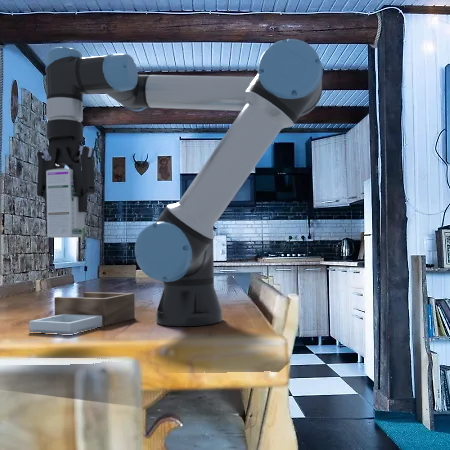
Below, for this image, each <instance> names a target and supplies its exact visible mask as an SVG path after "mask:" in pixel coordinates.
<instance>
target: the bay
mask: <svg viewBox="0 0 450 450" xmlns="http://www.w3.org/2000/svg"><path fill="white" fill-rule="evenodd" d="M53 299H54V316H56V315H61V314H75V315H97V316H102V325H108V326H110V325H109V324H112V325H115V324H118V322H119V323H122V322H126V321H129V320H134V319H135V318H136V316H135V315H136V314H135V310H136V309H135V293H134V292H133V293H131V292H127V293H126V292H125V293H124V292H89V291H88V292H85V291H84V292H83V297H78V296H77V297H75V296H72V297H71V296H68V297H67V296H55V297H54V298H53ZM114 323H115V324H114Z"/></svg>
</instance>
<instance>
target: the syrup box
mask: <svg viewBox="0 0 450 450" xmlns="http://www.w3.org/2000/svg"><path fill="white" fill-rule="evenodd" d="M46 186H47V214H46V227H47V228H46V231H47V234H46V235H47V238H54V239H55V238H59V239H60V238H84V237H85V228H74V218H73V197H78V196H75V195H74V194H76V191H75V187H74V184H73V170H72V169H69V168H64V169H52V170H47V171H46Z"/></svg>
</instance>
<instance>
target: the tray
mask: <svg viewBox="0 0 450 450" xmlns="http://www.w3.org/2000/svg"><path fill="white" fill-rule="evenodd" d="M28 324H29V328H28V329H29V332H41V333H57V334H74V333H77V332H81V331H85V330H89V329H94V328H97V327H101V326H102V316H97V315H75V314H61V315H56V316H55V315H53V316H47V317H43V318H38V319H34V320H29V322H28ZM102 327H103V326H102ZM102 327H101V328H102ZM97 329H98V328H97ZM94 330H95V329H94Z"/></svg>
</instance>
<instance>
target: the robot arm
mask: <svg viewBox="0 0 450 450" xmlns="http://www.w3.org/2000/svg"><path fill="white" fill-rule="evenodd" d="M323 73H324V70H323V64H322V61H321V59H320V57H319V55H318V52H317V51H316V49H315V48H314V47H312V45H310V44H309V43H307V42H306V41H303V40H301V39H297V38H287V39H281V40H278V41H276V42H274V43H273V44H271V45H270V46H268V47H267V48H266V50H264V52H263V53H262V55H261V57H260V59H259V63H258V66H257V74H256V76H233V75H232V76H228V75H227V76H226V75H225V76H224V75H223V76H222V75H221V76H220V75H219V76H218V75H176V74H175V75H174V74H170V75H169V74H168V75H167V74H164V75H163V74H138V68H137V64H136V62H135V60H134V58H133V57H132V56H131V55H130V54H128V53H110V54H104V55H103V54H102V55H94V56H88V57H87V56H86V57H83V55H82V53H81V52H80V51H79V50H78V49H77V48H76V49H75V48H73V47H69V46H66V47H64V46H55V47H52V48H51V49H49V50H48V51H47V53H46V63H45V78H46V79H45V81H46V82H45V84H46V103H45V105H46V109H45V110H46V117H45V118H46V120H48V121H47V122H46V138H47V140H48V146H47V149H46V150H43V151H40V150H38V151H37V152H36V156H37V161H38V164H37V165H38V167H37V183H36V184H37V185H36V195H37V196H38V197H40V198H41V197H42V198H43V199H44V211H45V214H46V215H47V186H46V171H47V170H52V169H65V166H66V167H67V168H68V169H72V170H73V184H74V187H75V191H76V194H74V195H75V196H78V197H73V218H74V228H84V229H85V227H86V224H85V223H86V221H85V220H86V218H85V216H86V215H85V213H87V211H88V197H89V196H90V195H94V194H95V193H96V184H95V183H96V181H95V170H94V154H95V148H93V147H90V146H86V145H83V142H82V141H83V139H84V124H82V123H83V120H84V117H83V116H84V113H83V110H84V109H83V107H84V105H83V102H84V100H83V99H84V94H85V95H90V94H91V95H92V94H101V93H102V94H106V95H107V96H108V97H110V98H111V99H113V100H115V101H116V102H117V103H119V104H120V105H121V106H122V107H124V108H125V109H127V110H131V111H133V112H142V111H144V110H146V109H148V108H149V109H150V108H151V109H153V108H154V109H173V110H174V109H179V110H181V109H183V110H201V111H202V110H204V111H205V110H206V111H207V110H208V111H210V110H212V111H235V112H240V113H238V115H237V117H236V118H235V120H234V121H233V122H232V124H231V125H230V127H229V129H227V131H226V133H225V134H224V136H223V137H222V139H221V140H220V142H219V143H218V144H217V146H216V147H215V149H214V150H213V151H212V153H211V155H210V156H209V157H208V158H207V160H206V162H205V163H204V164H203V166H202V168H200V170H199V172H198V173H197V175H196V176H195V177H194V179H193V180H192V182H191V183H190V185H189V187H187V190H186V191H185V192H184V193H183V195H182V197H181V198H180V199H179V201H178V202H176V203H175V202H174V203H170V204H166V207H165V208H164V209H163V211H162V212H161V214H160V215H159V217H158V218H157V219H156V221H155V222H151V223H150V224H149V225H147V226H146V227H144V228H143V229H142V230H141V231H140V233H139V234H138V236H137V238H136V240H135V242H134V243H135V244H134V256H135V260H136V263H137V265H138V267H139V269H140V271H142V272H143V274H145V276H147V277H149V278H150V279H152V280H155V281H158V282H163V287H162V288H163V289H162V293H161V297H160V300H159V304H158V307H157V310H156V312H155V314H156V316H155V317H156V318H155V320H156V321H155V322H156V324H159V325H162V326H168V327H169V326H170V327H171V326H172V327H195V326H196V327H199V326H200V327H201V326H208V325H213V324H218V323H221V322H222V321H223V311H222V307H221V304H220V301H219V298H218V295H217V292H216V289H215V274H214V273H215V271H214V269H215V267H214V265H215V263H214V239H215V232H214V226H215V224H216V223H217V222H218V220H219V219H220V217H222V215H223V213H224V212H225V210H226V209H227V207H228V205H230V203H231V201H232V200H233V199H234V198H235V197H236V195H237V193H238V192H239V190H240V189H241V188H242V186H243V184H244V183H245V182H246V181H247V179H248V178H249V176H250V175H251V173H252V171H253V170H254V169H255V167H256V166H257V164H259V162H260V161H261V159H262V158H263V156H264V155H265V153H266V152H267V150H268V149H269V148H270V146H271V145H272V144H273V142H274V140H275V139H276V137H277V136H278V134H279V133H280V132H281V131H282V130H283V129H285V128H291V127H293V126H294V125H295V124H296V123H297V121H298V119H299V118H300V117H303V116H306V115H307V114H309V113H310V112H312V111H313V110H314V109H315V108H316V107H317V105H318V104H319V102H320V101H321V97H322V93H323Z"/></svg>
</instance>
